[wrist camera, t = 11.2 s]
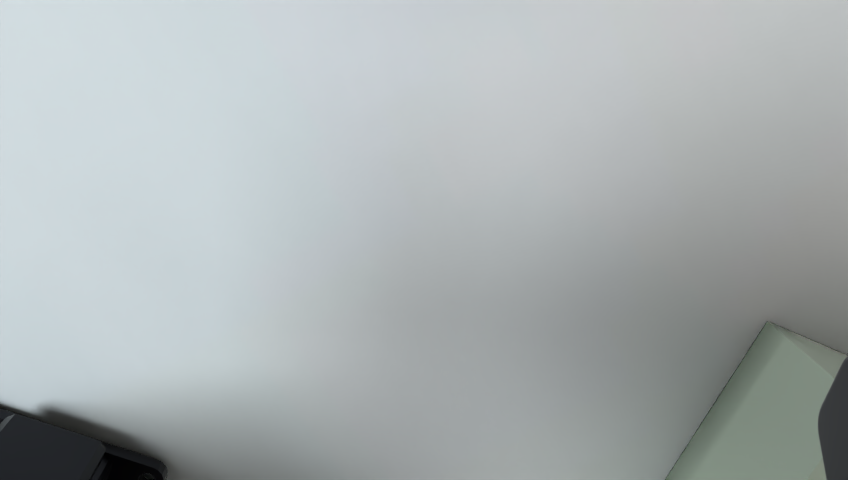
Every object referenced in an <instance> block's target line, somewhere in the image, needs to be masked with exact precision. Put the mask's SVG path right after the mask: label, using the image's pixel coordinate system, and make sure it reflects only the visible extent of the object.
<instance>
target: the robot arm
mask: <svg viewBox="0 0 848 480" xmlns="http://www.w3.org/2000/svg"><path fill="white" fill-rule="evenodd" d="M818 435H819V441H820V446H821V452H822V457H823V463H824V469H825V474H826V480H848V356H847V357H846V358H845V359H844V361H843V363H842V364H841V367H840V369H839V371H838V373H837V375H836V377H835V379H834V381H833V383H832V385H831V387H830V389H829V391H828V393H827V395H826V397H825V399H824V401H823V403H822V405H821V408H820V411H819V415H818ZM144 473H148V474H151V475H153V476H154V478H155V479H147V478H145V477H144V476H143V474H144ZM167 473H168V472H167V469H166V466H165V465H164V464H163V463H162V462H161V461H159V460H157V459H155V458H152V457H148V456H145V455H142V454H139V453H136V452H133V451H130V450H127V449H124V448H121V447H118V446H115V445H111V444H108V443H105V442H102V441H99V440H96V439H93V438H90V437H87V436H84V435H81V434H78V433H75V432H72V431H69V430H66V429H63V428H59V427H56V426H53V425H50V424H47V423H44V422H41V421H38V420H35V419H32V418H29V417H26V416H22V415H19V414H16V413H13V412H10V411H7V410H4V409H1V408H0V480H166V478H167Z"/></svg>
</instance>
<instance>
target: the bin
mask: <svg viewBox="0 0 848 480" xmlns="http://www.w3.org/2000/svg"><path fill="white" fill-rule="evenodd" d="M846 357H847V355H845V354H842V353H840V352H838V351H836V350H833V349H831V348H829V347H826V346H824V345H822V344H819V343H817V342H815V341H812V340H810V339H808V338H805V337H803V336H801V335H798V334H796V333H794V332H791V331H789V330H787V329H785V328H782V327H780V326H778V325H775V324H773V323H771V322H768V321H767V323H766V324H765V326H764V327H763V329H762V331H761V332H760V334H759V335H758V337H757V338H756V340H755V341H754V343H753V345H752V346H751V348H750V349H749V351H748V352H747V354H746V355H745V357H744V358H743V360H742V362H741V363H740V365H739V366H738V368H737V369H736V371H735V372H734V374H733V375H732V377H731V379H730V380H729V382H728V383H727V385H726V386H725V388H724V389H723V391H722V393H721V394H720V396H719V397H718V399H717V400H716V402H715V403H714V405H713V406H712V408H711V410H710V411H709V413H708V414H707V416H706V417H705V419H704V420H703V422H702V423H701V425H700V427H699V428H698V430H697V431H696V433H695V434H694V436H693V437H692V439H691V441H690V442H689V444H688V445H687V447H686V448H685V450H684V451H683V453H682V454H681V456H680V458H679V459H678V461H677V462H676V464H675V465H674V467H673V468H672V470H671V472H670V473H669V475H668V476H667V478H666V479H665V480H826V474H825V469H824V463H823V457H822V452H821V446H820V441H819V435H818V415H819V411H820V408H821V405H822V403H823V401H824V399H825V397H826V395H827V393H828V391H829V389H830V387H831V385H832V383H833V381H834V379H835V377H836V375H837V373H838V371H839V369H840V367H841V364H842V363H843V361H844V359H845V358H846Z"/></svg>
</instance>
